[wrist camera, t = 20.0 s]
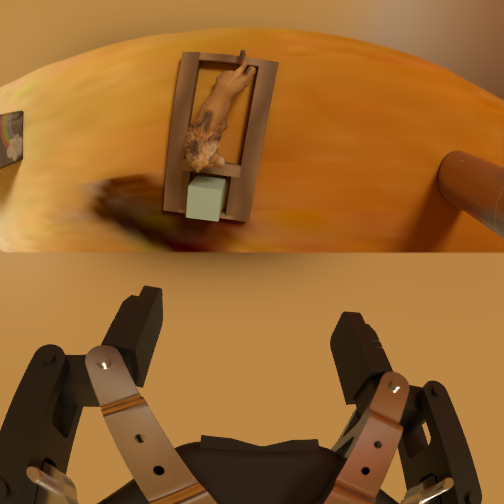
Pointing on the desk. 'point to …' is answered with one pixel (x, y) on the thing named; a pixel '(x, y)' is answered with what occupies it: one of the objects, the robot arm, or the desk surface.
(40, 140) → the desk surface
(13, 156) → the chalk box
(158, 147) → the desk surface
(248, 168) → the board
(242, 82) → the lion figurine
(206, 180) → the block
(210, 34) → the desk surface
